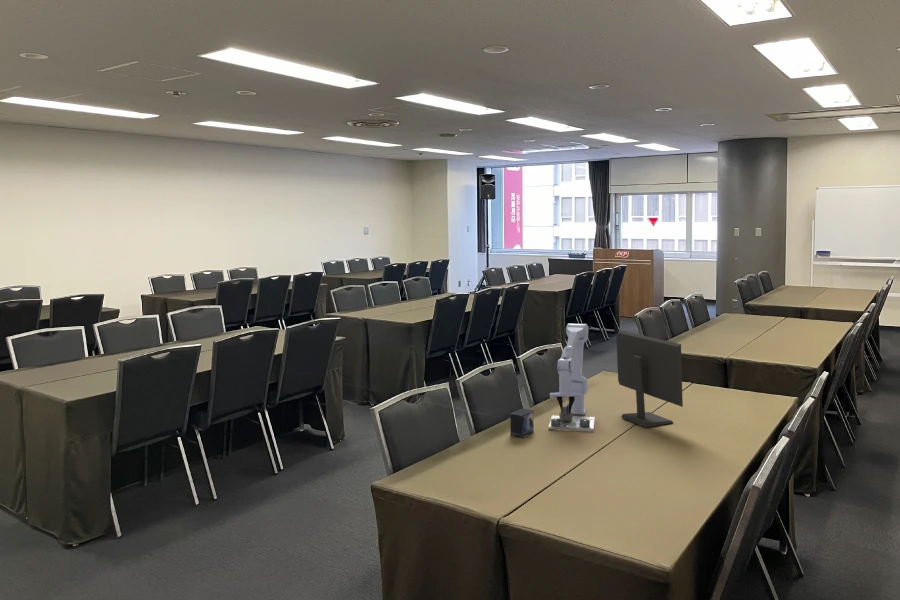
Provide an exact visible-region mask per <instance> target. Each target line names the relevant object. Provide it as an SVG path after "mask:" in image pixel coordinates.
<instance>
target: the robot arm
mask: <svg viewBox="0 0 900 600" xmlns="http://www.w3.org/2000/svg"><path fill="white" fill-rule="evenodd" d="M565 333H566V336H567V337H568V338H567V343H566V344H567V345H565V347H564V348H563V350H562V354H561V357H560V358H559V359H558V360H557V363H556V367H557V368H556V369H557V374H558V375H559V376H558V380H559V382H558V383H559V384H558V385H559V386H558V387H559V391H557V392H550V393H549V398H550V399H552V398H555V399H556V400H557V402H558V405H559V407H560V412H561V413H562V407H563V405H564V404H563V401H564V400H563V398H568V403H569V413H572V415H585V414H586V408H585V395H586V394H587V393H588V387H589V386H588V379H587V378H586V377H585V376H584V375H583V359H584V346H585V342H587V341H588V338H589V326H588V324H587V323H567V325H566V327H565Z"/></svg>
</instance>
